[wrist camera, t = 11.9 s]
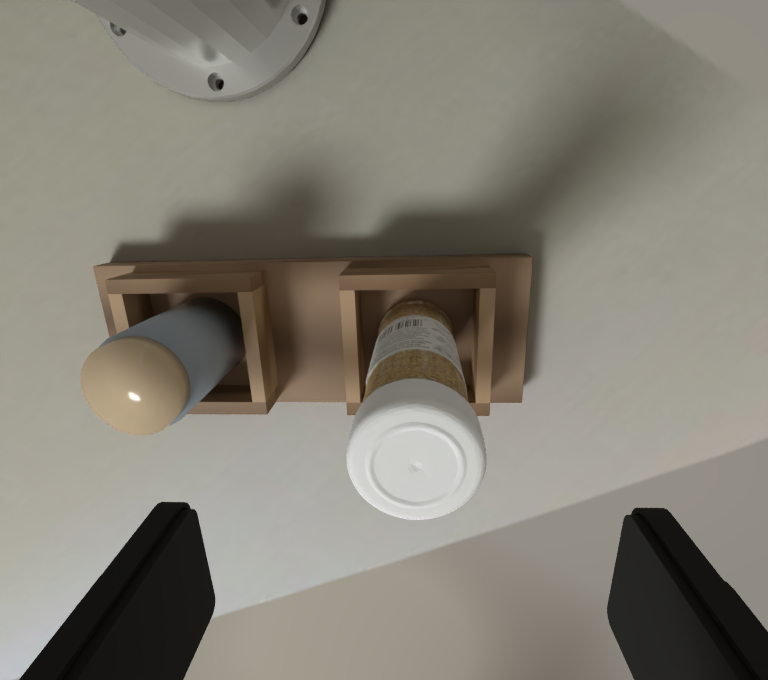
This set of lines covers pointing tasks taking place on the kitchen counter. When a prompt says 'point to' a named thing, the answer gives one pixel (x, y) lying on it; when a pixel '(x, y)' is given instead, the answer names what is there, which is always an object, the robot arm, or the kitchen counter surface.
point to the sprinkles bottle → (416, 420)
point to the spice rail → (335, 320)
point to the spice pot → (162, 365)
